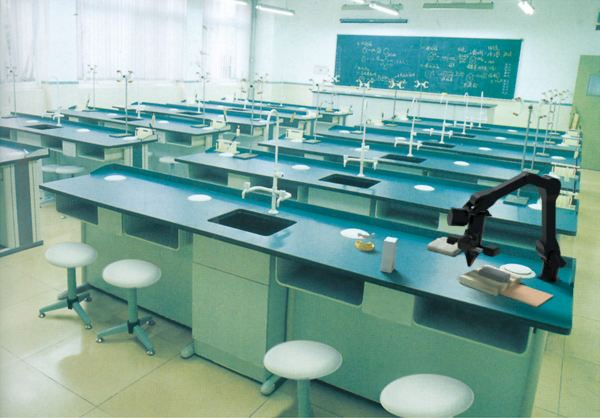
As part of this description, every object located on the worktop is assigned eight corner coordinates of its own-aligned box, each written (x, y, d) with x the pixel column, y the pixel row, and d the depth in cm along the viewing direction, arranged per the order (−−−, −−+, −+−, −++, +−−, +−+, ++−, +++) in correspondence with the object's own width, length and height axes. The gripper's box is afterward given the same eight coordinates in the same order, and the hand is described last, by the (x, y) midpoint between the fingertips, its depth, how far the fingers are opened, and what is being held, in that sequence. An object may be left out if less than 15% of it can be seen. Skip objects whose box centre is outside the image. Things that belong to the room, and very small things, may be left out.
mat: (517, 284, 181) (517, 283, 181) (552, 296, 173) (553, 295, 173) (499, 293, 172) (500, 292, 172) (536, 307, 163) (536, 306, 163)
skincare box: (391, 273, 184) (394, 242, 181) (379, 271, 185) (383, 240, 182) (394, 268, 189) (398, 238, 186) (383, 265, 191) (386, 236, 188)
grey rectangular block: (486, 271, 185) (486, 266, 185) (509, 279, 179) (510, 274, 178) (478, 274, 181) (479, 269, 181) (502, 283, 175) (503, 277, 174)
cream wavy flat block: (485, 270, 193) (486, 264, 192) (520, 282, 183) (522, 276, 183) (458, 282, 180) (459, 276, 179) (495, 296, 170) (497, 289, 169)
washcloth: (467, 247, 220) (468, 241, 219) (452, 257, 206) (453, 250, 205) (442, 241, 227) (443, 234, 226) (426, 250, 213) (426, 243, 212)
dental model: (373, 246, 213) (375, 231, 211) (374, 251, 206) (375, 236, 204) (354, 244, 214) (356, 229, 212) (355, 249, 207) (356, 234, 205)
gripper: (441, 224, 184) (435, 263, 188) (489, 237, 171) (482, 279, 175) (456, 219, 191) (451, 257, 195) (503, 232, 178) (496, 272, 182)
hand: (469, 266), depth 187 cm, fingers closed
